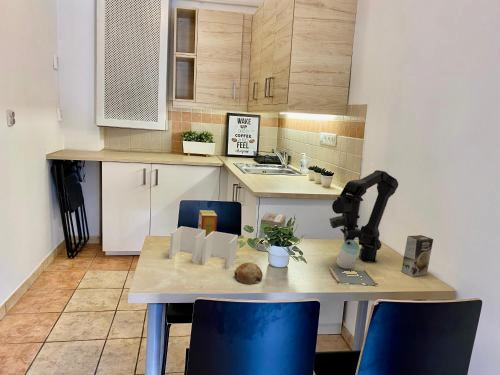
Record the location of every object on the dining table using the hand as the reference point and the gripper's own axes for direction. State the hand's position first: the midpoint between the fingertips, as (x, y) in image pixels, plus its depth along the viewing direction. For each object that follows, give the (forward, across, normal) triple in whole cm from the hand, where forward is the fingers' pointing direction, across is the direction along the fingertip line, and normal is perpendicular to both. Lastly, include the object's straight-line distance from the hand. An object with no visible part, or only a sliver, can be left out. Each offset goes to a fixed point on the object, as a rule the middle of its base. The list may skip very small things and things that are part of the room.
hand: (346, 247), depth 171 cm
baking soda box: (+9, -12, -60) cm, 62 cm away
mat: (+9, +12, 0) cm, 14 cm away
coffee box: (+9, +2, +30) cm, 31 cm away
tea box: (+9, -19, -30) cm, 37 cm away
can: (+7, 0, 0) cm, 7 cm away
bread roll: (+9, +20, -42) cm, 48 cm away
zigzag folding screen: (+10, +4, -60) cm, 61 cm away
